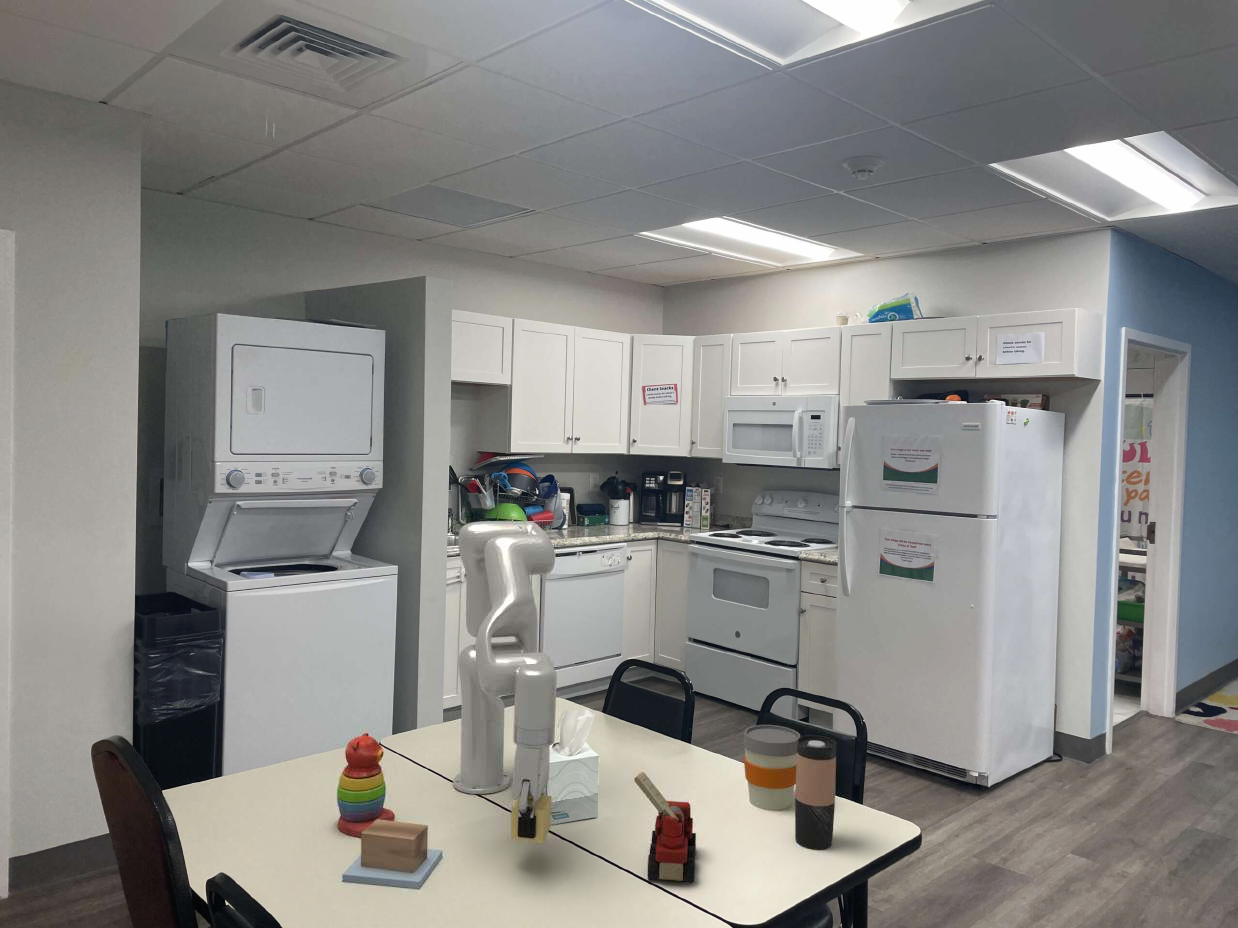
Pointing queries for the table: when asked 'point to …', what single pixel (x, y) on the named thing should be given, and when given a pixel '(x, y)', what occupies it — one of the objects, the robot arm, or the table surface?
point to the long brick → (394, 846)
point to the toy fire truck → (670, 836)
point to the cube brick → (541, 819)
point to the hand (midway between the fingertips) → (531, 827)
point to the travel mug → (815, 791)
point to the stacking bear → (362, 787)
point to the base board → (392, 873)
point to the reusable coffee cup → (770, 765)
